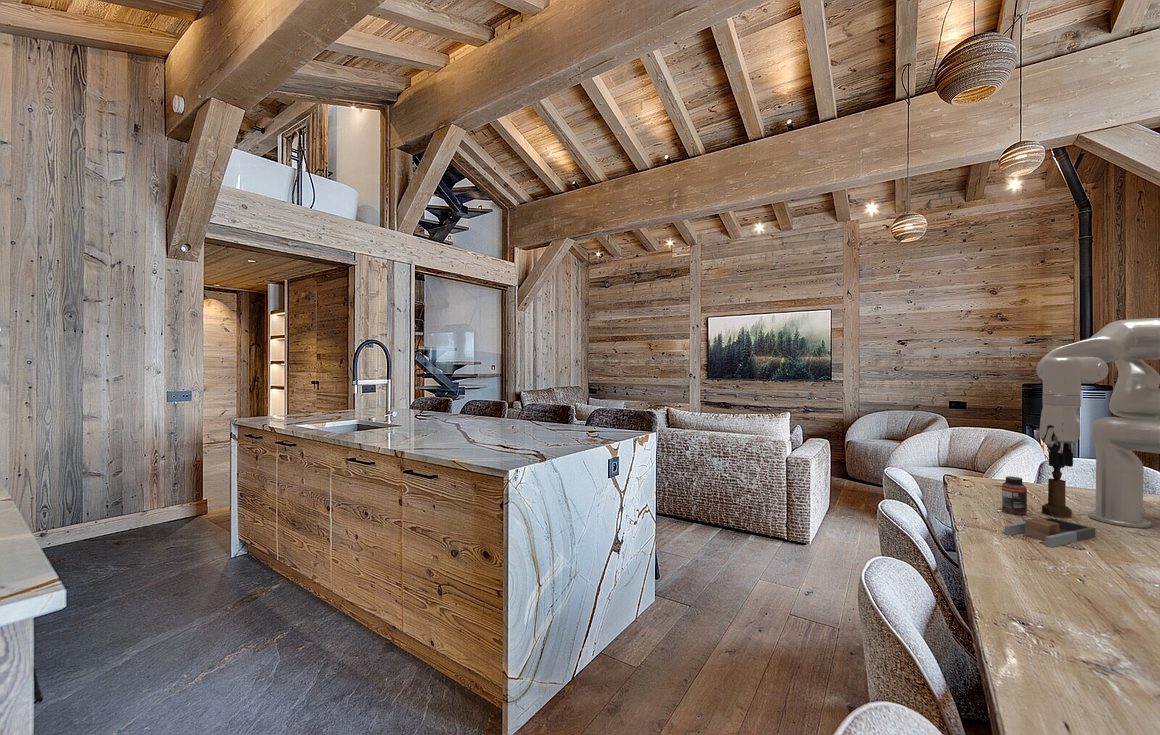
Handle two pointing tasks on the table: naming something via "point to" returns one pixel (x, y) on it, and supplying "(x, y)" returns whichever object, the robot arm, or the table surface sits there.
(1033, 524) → the walnut block
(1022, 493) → the supplement bottle
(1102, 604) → the table surface
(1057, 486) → the pepper mill
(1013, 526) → the grey u-shaped bracket
